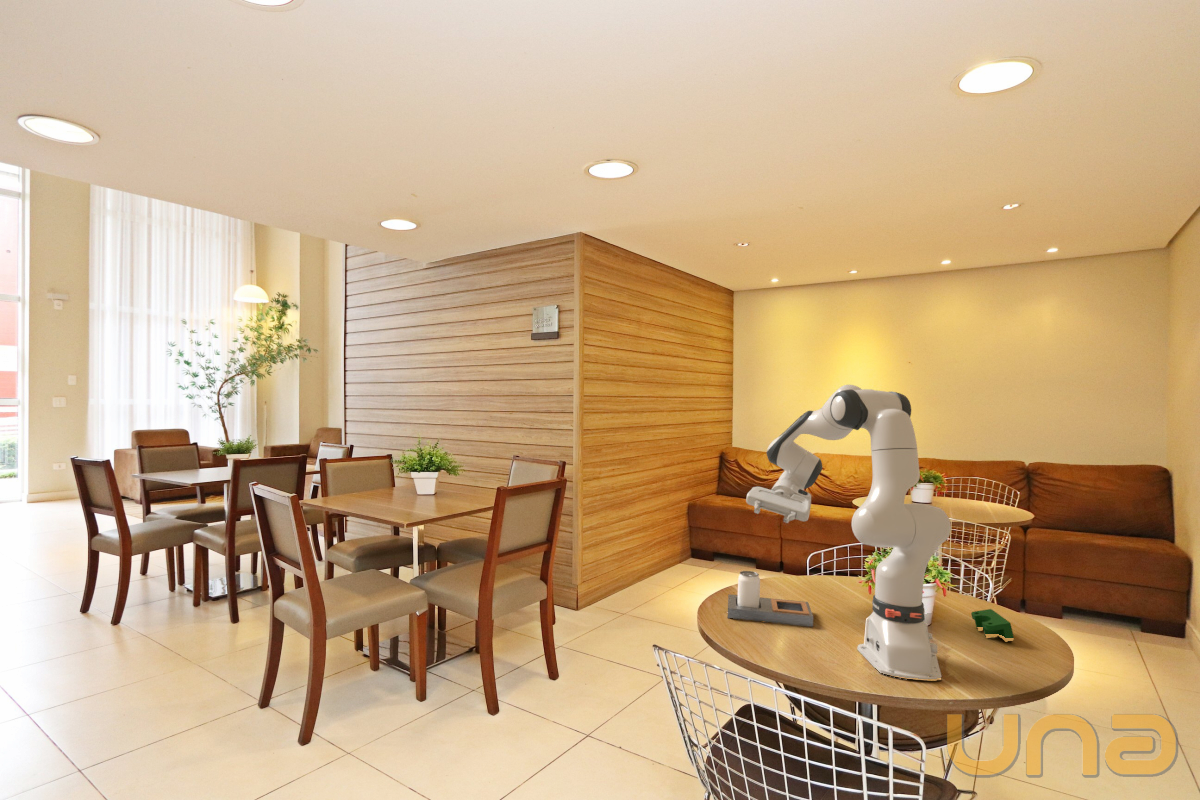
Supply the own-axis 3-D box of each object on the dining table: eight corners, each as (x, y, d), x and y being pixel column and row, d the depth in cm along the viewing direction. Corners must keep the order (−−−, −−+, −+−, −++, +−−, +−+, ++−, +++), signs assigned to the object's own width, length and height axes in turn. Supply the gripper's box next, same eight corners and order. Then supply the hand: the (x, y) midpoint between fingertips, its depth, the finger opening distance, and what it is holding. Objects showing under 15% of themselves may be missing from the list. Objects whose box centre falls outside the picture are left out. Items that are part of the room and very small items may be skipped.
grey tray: (812, 627, 178) (813, 615, 178) (727, 618, 183) (727, 607, 183) (807, 611, 190) (808, 601, 190) (728, 603, 195) (728, 593, 195)
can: (752, 618, 183) (753, 578, 183) (733, 612, 188) (734, 573, 187) (762, 613, 188) (764, 573, 188) (743, 607, 192) (745, 569, 192)
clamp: (979, 645, 179) (967, 612, 183) (1001, 642, 178) (989, 609, 182) (994, 644, 168) (981, 609, 172) (1017, 641, 168) (1003, 606, 171)
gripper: (754, 478, 209) (740, 497, 199) (816, 495, 199) (804, 517, 189) (753, 493, 212) (738, 514, 201) (813, 511, 202) (801, 534, 191)
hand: (770, 516), depth 195 cm, fingers open, 8 cm apart
